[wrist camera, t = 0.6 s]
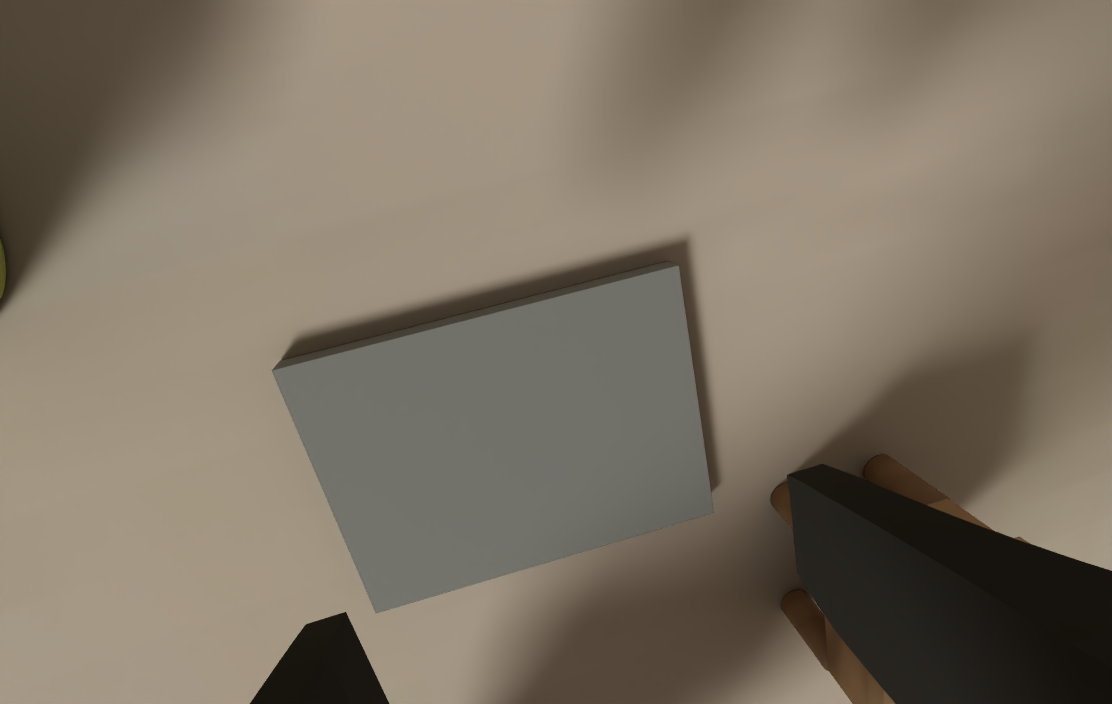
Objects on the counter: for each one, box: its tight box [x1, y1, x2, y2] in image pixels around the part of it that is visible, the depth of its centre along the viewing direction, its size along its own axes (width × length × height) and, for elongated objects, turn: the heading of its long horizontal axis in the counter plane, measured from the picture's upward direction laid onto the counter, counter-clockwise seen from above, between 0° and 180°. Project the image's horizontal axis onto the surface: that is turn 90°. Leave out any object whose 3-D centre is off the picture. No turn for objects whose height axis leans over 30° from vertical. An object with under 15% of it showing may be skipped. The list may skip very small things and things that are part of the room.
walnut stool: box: [771, 455, 1030, 704], centre depth 20 cm, size 6×5×6 cm
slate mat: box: [272, 261, 714, 613], centre depth 18 cm, size 9×12×1 cm
